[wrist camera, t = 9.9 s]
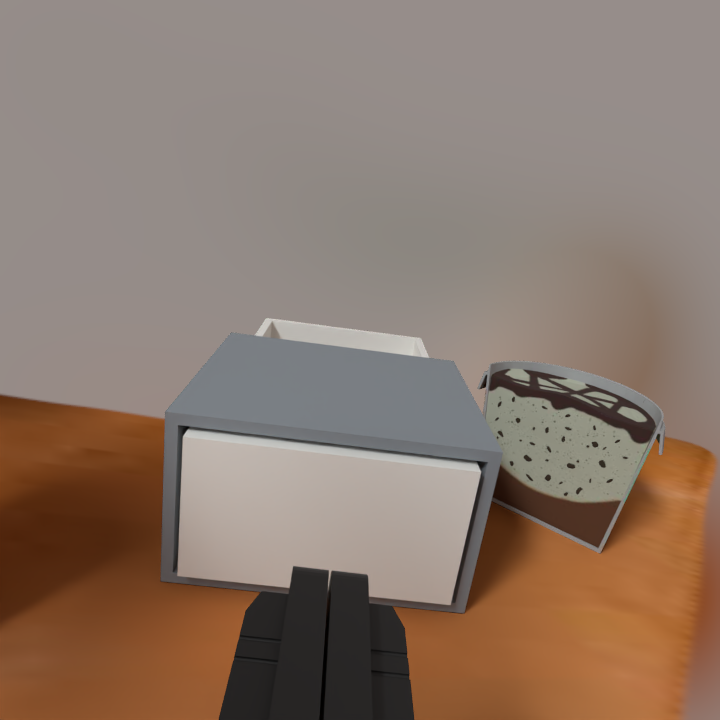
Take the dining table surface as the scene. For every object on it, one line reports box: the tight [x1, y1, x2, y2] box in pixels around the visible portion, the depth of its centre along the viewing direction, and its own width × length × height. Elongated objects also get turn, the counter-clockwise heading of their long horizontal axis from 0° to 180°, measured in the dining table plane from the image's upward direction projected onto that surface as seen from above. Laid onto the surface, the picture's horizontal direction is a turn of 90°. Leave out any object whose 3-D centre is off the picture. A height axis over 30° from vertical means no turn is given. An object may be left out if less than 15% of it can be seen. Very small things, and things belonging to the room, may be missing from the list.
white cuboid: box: [177, 318, 481, 605], centre depth 38 cm, size 25×14×8 cm, turn 0°
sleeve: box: [161, 333, 503, 613], centre depth 34 cm, size 14×16×10 cm
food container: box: [478, 361, 665, 553], centre depth 39 cm, size 12×6×10 cm, turn 51°
